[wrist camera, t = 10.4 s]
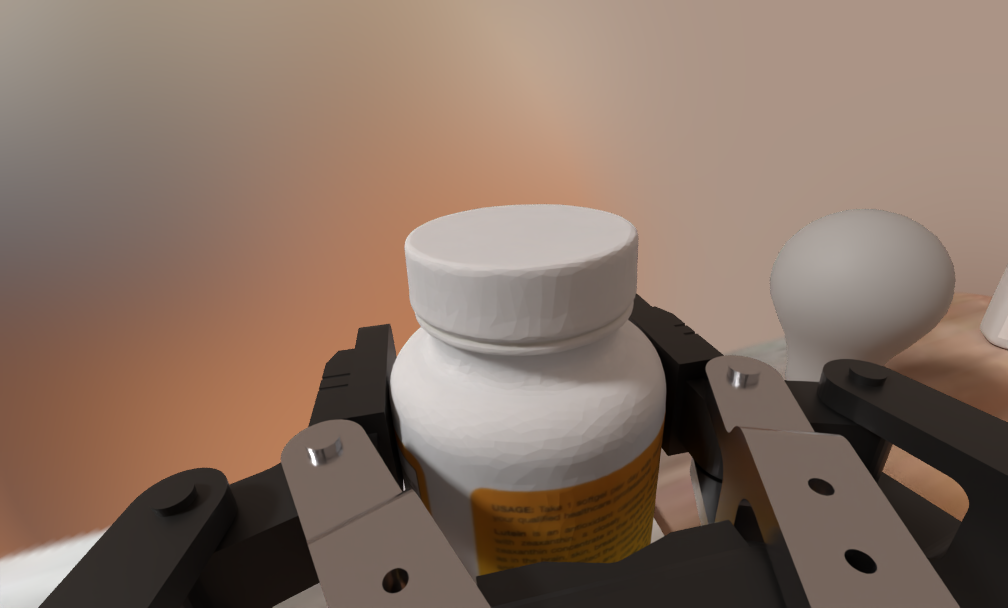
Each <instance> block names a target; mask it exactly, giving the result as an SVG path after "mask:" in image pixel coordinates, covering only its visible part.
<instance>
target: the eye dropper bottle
mask: <svg viewBox="0 0 1008 608" xmlns="http://www.w3.org/2000/svg"><path fill="white" fill-rule="evenodd" d="M980 331H981V332H982V334H983V335H984V336H985V337H986V339H987V340H988V341H989V342H991V343H992V344H994V345H996V346H998V347H1001V348H1005V349H1008V265H1007V267H1006V269H1005V271H1004V273H1003V276H1002V278H1001V280H1000V282H999V284H998V286H997V289H996V291H995V293H994V295H993V297H992V299H991V302H990V304H989V306H988V308H987V310H986V313H985V315H984V317H983V319H982V322H981V324H980Z"/></svg>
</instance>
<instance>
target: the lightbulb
mask: <svg viewBox="0 0 1008 608" xmlns="http://www.w3.org/2000/svg"><path fill="white" fill-rule="evenodd" d="M954 287H955V272H954V265H953V263H952V261H951V259H950V256H949V254H948V252H947V250H946V248H945V247H944V246H943V244H942V243H941V241H940V240H939V239H938V237H937V236H935V235H934V234H933V233H932V232H931V231H929V230H928V229H927V228H925V227H924V226H923V225H921V224H920V223H918V222H916V221H914V220H912V219H910V218H908V217H906V216H903V215H900V214H896V213H892V212H888V211H884V210H877V209H856V210H846V211H842V212H838V213H834V214H830V215H827V216H825V217H823V218H820V219H818V220H815V221H813V222H811V223H809V224H808V225H806V226H805V227H803V228H802V229H801V230H799V231H798V232H797V233H796V234H795V235H793V236H792V237H791V238H790V239H789V240H788V241H787V242H786V243H785V245H784V246H783V247H782V249H781V250H780V252H779V253H778V256H777V258H776V260H775V262H774V264H773V267H772V271H771V277H770V293H771V297H772V300H773V303H774V306H775V310H776V313H777V316H778V319H779V321H780V323H781V326H782V328H783V330H784V333H785V338H786V343H787V365H786V371H785V378H786V380H788V381H814V382H819V380H820V377H821V373H822V370H823V367H824V365H825V364H826V363H827V362H829V361H832V360H837V359H854V360H861V361H866V362H871V363H874V364H878V365H880V366H884V365H885V364H886V363H887V362H888V361H889V360H890V359H891V358H893V357H894V356H896V355H898V354H899V353H901V352H902V351H904V350H905V349H907V348H909V347H910V346H911V345H913V344H914V343H915V342H917V341H918V340H919V339H921V338H922V337H923V336H925V335H926V334H927V333H929V332H930V331H931V330H932V329H933V328H935V327H936V325H937V324H938V323H939V322H940V320H941V319H942V318H943V317H944V315H945V314H946V313H947V311H948V309H949V306H950V304H951V302H952V299H953V295H954Z"/></svg>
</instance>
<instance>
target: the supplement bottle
mask: <svg viewBox="0 0 1008 608" xmlns="http://www.w3.org/2000/svg"><path fill="white" fill-rule="evenodd" d="M405 256H406V265H407V273H408V282H409V291H410V296H409V297H410V302H411V306H412V308H413V310H414V311H415V315H416V318H417V321H418V322H419V324H420V326H421V328H419V329H418V330H417V331H416V332H415V333H414V334H413V335H412V336H411V337H410V339H409V340H408V341H407V343H406V344H405V345H404V346H403V348H402V349H401V351H400V353H399V354H398V356H397V358H396V360H395V363H394V365H393V368H392V372H391V377H390V383H389V398H390V407H391V415H392V422H393V428H394V433H395V438H396V443H397V448H398V454H399V459H400V464H401V469H402V474H403V479H404V484H405V490H407V489H409V488H411V489H412V490H414V491H415V493H416V494H417V495H418V497H419V498H420V499H421V501H422V503H423V504H424V506H425V507H426V509H427V510H428V512H429V513H430V515H431V516H432V518H433V519H434V521H435V522H436V524H437V526H438V527H439V529H440V530H441V532H442V533H443V535H444V536H445V538H446V539H447V541H448V542H449V544H450V545H451V547H452V549H453V550H454V552H455V553H456V555H457V556H458V558H459V559H460V561H461V562H462V564H463V565H464V567H465V568H466V570H467V572H468V573H469V575H470V576H471V578H472V579H473V581H474V582H475V584H476V585H477V582H476V576H480V575H485V574H489V573H494V572H498V571H502V570H507V569H511V568H516V567H520V566H525V565H529V564H534V563H538V562H585V563H614V562H618V561H620V560H622V559H624V558H626V557H628V556H629V555H631V554H633V553H635V552H637V551H639V550H640V549H642V548H644V547H646V546H648V545H649V544H651V535H652V527H653V518H654V509H655V499H656V489H657V481H658V473H659V463H660V454H661V446H662V438H663V429H664V421H665V413H666V380H665V373H664V370H663V367H662V363H661V360H660V357H659V355H658V353H657V351H656V349H655V348H654V346H653V345H652V343H651V342H650V340H649V339H648V338H647V337H646V335H645V334H644V333H643V332H642V331H641V330H640V329H639V328H638V327H637V326H635V325H634V324H633V323H632V322H630V321H629V320H628V319H629V317H630V315H631V313H632V310H633V305H634V301H633V300H634V298H635V295H636V289H637V286H636V285H637V260H638V258H637V257H638V233H637V230H636V228H635V227H634V225H633V224H632V223H630V222H629V221H628V220H626V219H624V218H622V217H621V216H618V215H615V214H612V213H609V212H605V211H601V210H596V209H591V208H585V207H577V206H567V205H547V204H546V205H544V204H540V205H509V206H496V207H487V208H479V209H474V210H469V211H463V212H459V213H455V214H451V215H446V216H443V217H440V218H437V219H434V220H432V221H429V222H427V223H425V224H423V225H421V226H419V227H418V228H416V229H415V230H413V231H412V232H411V233H410V235H409V236H408V237H407V239H406V241H405Z"/></svg>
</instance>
